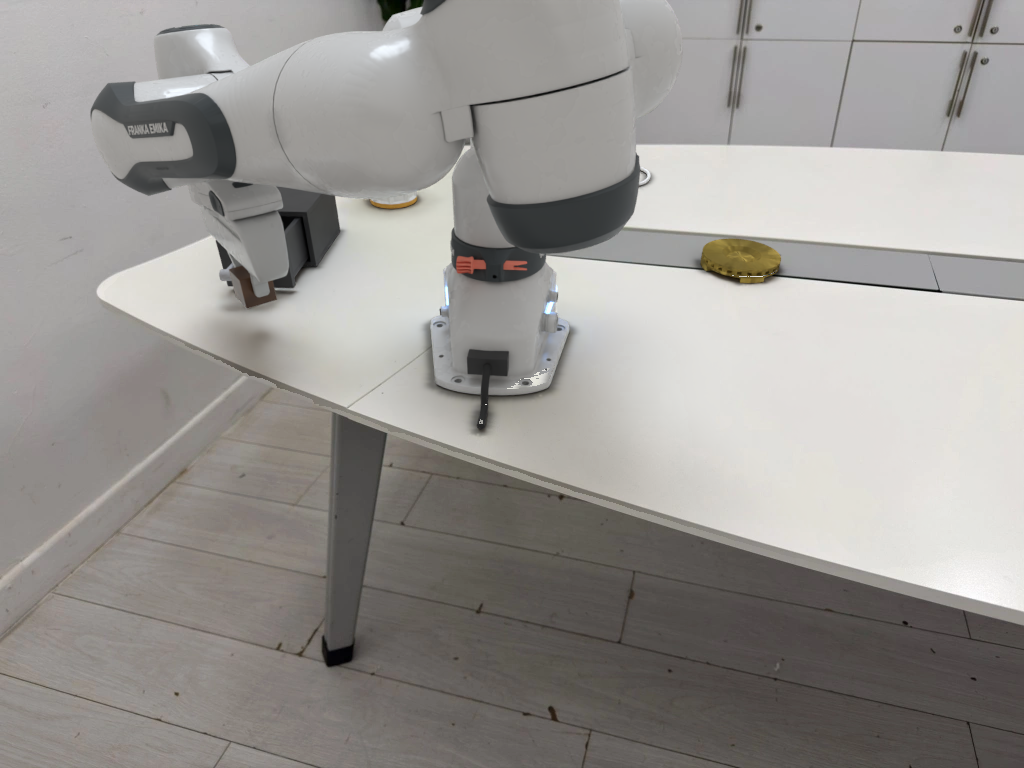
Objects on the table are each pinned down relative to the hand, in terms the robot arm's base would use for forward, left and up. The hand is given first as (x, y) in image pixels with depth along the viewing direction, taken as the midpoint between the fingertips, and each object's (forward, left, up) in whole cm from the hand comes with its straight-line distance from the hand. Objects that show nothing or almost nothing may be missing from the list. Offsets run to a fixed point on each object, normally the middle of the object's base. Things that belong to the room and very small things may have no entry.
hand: (253, 286), depth 86 cm
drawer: (+16, +5, -6) cm, 18 cm away
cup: (+51, -7, -7) cm, 52 cm away
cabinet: (+28, +5, -7) cm, 29 cm away
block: (0, 0, -2) cm, 2 cm away
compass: (+25, -68, -7) cm, 73 cm away
